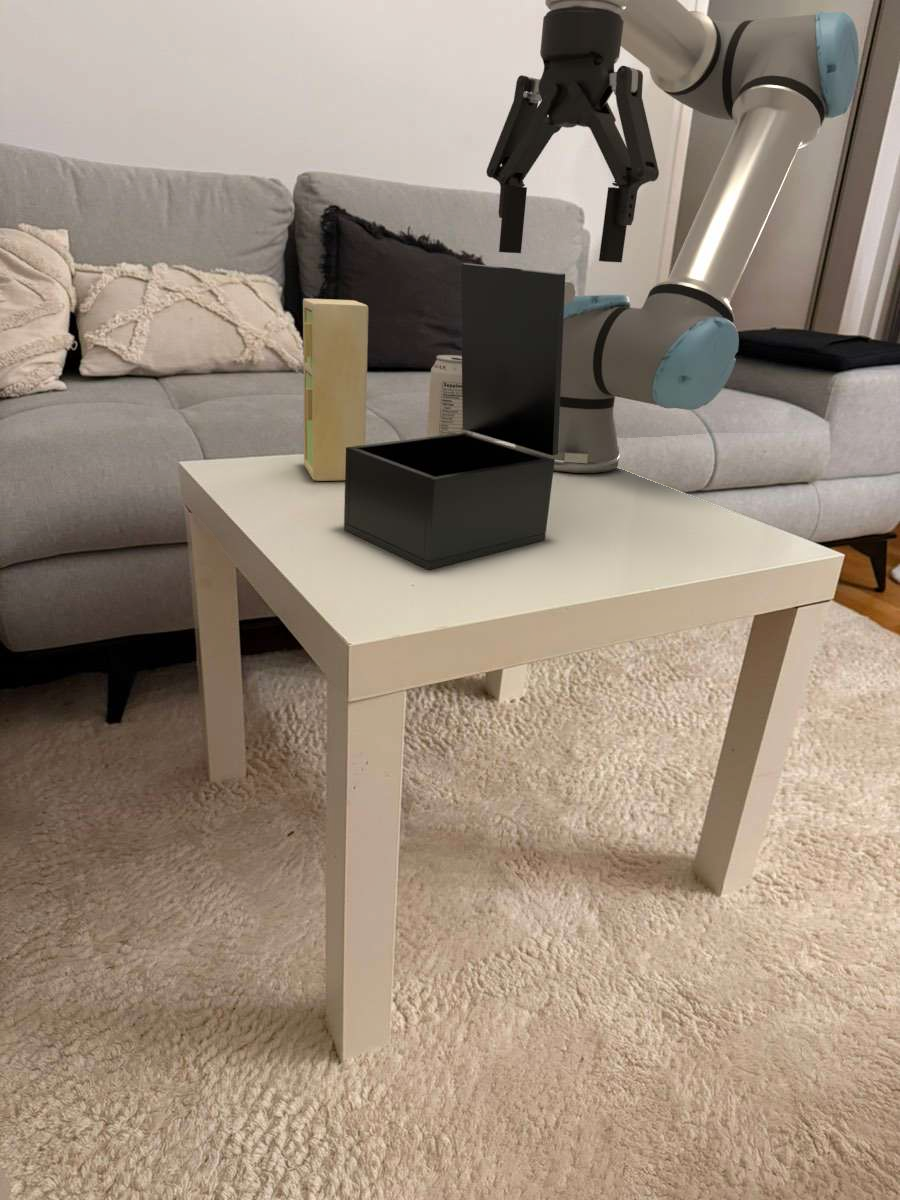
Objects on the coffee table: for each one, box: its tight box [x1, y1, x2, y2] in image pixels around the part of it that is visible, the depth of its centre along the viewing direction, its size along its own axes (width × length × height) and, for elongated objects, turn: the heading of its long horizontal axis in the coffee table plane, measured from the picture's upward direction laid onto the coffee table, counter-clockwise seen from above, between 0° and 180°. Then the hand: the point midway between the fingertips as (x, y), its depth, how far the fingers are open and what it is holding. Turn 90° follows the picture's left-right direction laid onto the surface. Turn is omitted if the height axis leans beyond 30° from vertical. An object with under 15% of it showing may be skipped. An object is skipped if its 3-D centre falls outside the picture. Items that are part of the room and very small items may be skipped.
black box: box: [343, 433, 555, 571], centre depth 88 cm, size 17×14×9 cm
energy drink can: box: [426, 354, 474, 437], centre depth 111 cm, size 6×6×15 cm
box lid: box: [460, 262, 576, 456], centre depth 89 cm, size 18×14×6 cm
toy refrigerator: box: [302, 298, 369, 482], centre depth 105 cm, size 8×7×21 cm
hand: (557, 257), depth 88 cm, fingers open, 13 cm apart
